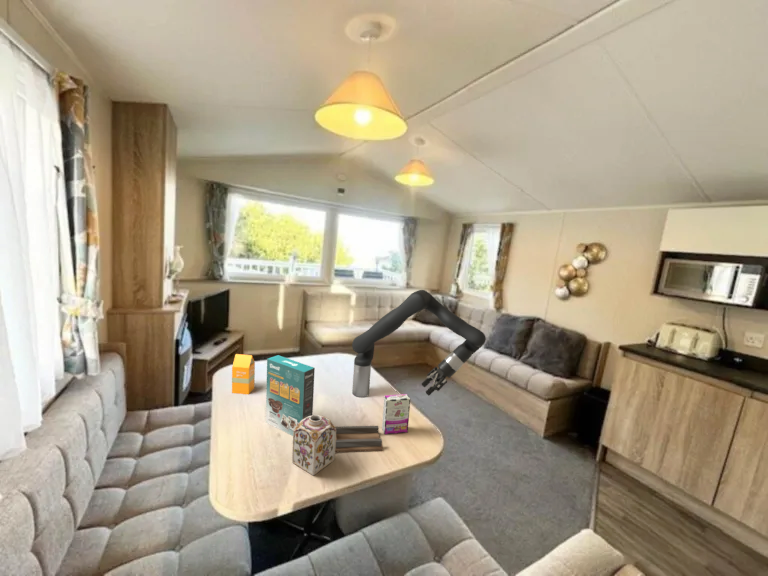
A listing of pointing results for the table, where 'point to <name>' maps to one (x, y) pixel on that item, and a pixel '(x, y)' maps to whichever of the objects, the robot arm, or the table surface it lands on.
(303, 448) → the decorative jar
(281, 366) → the cake mix box
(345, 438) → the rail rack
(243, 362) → the orange juice
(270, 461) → the table surface
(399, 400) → the candy bar box
